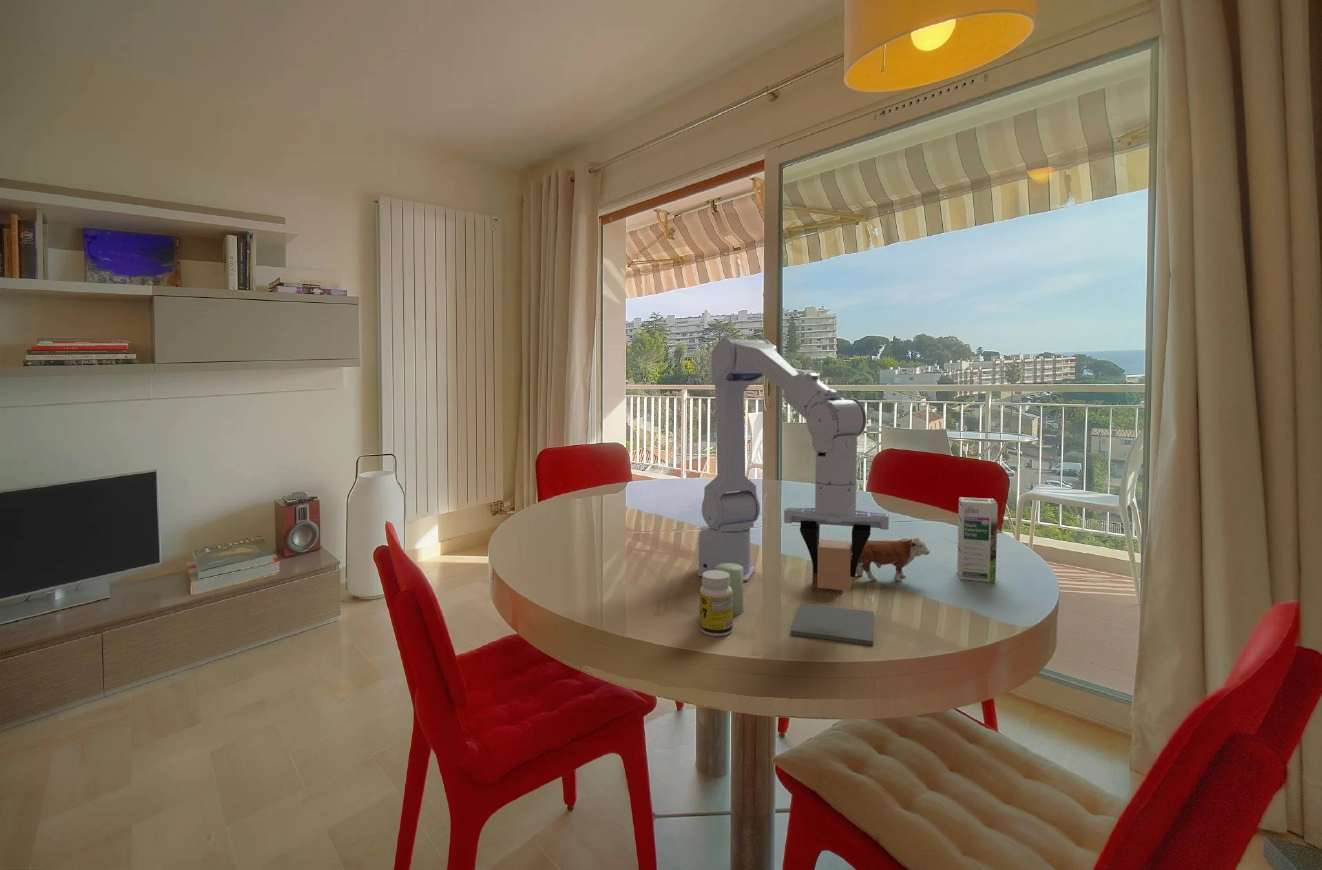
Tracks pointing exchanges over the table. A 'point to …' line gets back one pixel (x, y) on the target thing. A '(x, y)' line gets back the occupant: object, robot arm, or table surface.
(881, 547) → the bull figurine
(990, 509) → the syrup box
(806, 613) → the slate mat
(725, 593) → the supplement bottle
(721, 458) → the robot arm
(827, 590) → the walnut block
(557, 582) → the table surface
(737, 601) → the sage cylinder
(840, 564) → the terracotta brick
